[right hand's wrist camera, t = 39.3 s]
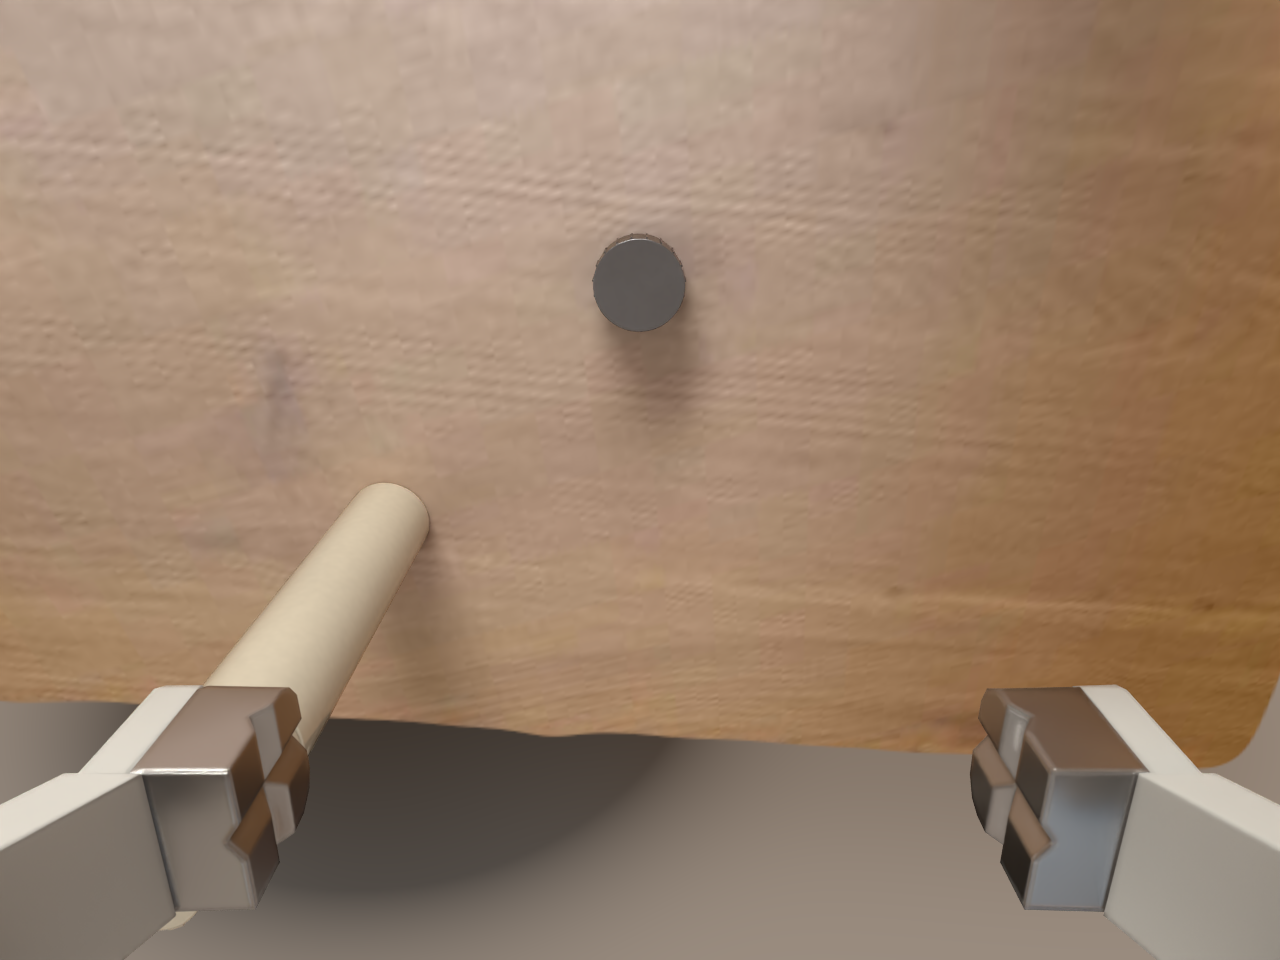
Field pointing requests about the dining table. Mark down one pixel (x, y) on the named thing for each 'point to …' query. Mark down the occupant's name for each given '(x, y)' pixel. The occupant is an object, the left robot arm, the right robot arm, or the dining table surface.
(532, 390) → the dining table surface
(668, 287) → the cap
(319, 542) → the bottle
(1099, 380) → the dining table surface
